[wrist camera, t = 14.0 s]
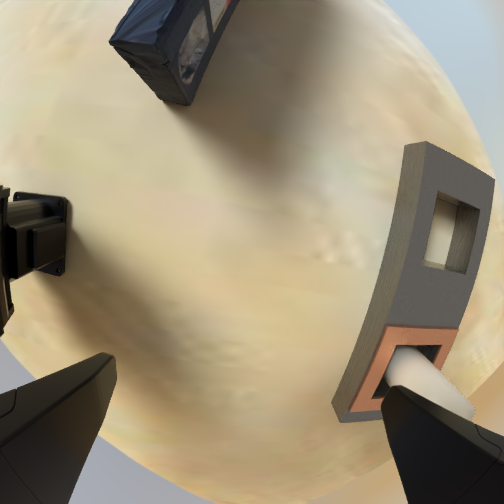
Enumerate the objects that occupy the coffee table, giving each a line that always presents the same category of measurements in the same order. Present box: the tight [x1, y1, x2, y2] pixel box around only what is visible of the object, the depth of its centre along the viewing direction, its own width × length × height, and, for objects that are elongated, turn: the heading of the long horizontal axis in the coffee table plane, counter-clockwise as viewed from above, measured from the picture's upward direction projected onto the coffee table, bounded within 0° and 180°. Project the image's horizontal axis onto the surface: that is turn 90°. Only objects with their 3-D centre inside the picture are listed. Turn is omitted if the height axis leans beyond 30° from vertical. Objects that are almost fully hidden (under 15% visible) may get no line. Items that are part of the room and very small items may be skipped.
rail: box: [331, 141, 495, 423], centre depth 20 cm, size 9×24×3 cm, turn 169°
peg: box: [383, 345, 475, 421], centre depth 18 cm, size 4×4×11 cm
